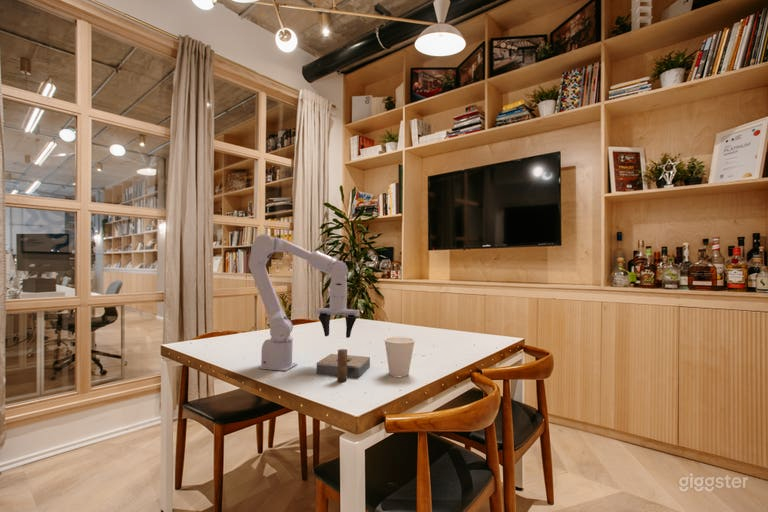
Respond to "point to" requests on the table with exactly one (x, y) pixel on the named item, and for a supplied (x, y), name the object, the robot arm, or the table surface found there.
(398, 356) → the cup
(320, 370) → the grey block with hole
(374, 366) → the table surface
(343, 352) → the brown wooden block
